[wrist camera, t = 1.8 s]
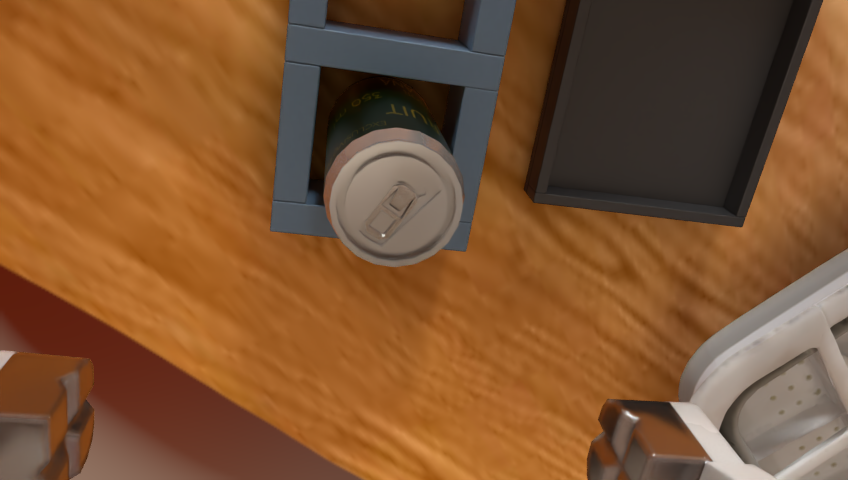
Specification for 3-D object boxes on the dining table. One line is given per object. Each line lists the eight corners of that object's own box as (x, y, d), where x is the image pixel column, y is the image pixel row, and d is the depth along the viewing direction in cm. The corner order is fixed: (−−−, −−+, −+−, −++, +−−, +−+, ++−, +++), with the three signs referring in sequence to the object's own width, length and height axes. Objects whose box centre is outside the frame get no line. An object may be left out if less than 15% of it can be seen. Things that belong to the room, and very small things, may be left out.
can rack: (310, -178, 31) (305, -193, 27) (522, -135, 33) (545, -144, 29) (276, 203, 38) (269, 231, 34) (454, 223, 39) (466, 252, 36)
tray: (591, -112, 33) (606, -115, 31) (820, -67, 35) (847, -67, 33) (523, 189, 39) (532, 203, 37) (723, 214, 41) (742, 227, 39)
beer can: (389, 194, 38) (409, 297, 27) (306, 136, 37) (293, 221, 26) (451, 116, 37) (498, 191, 26) (369, 52, 35) (382, 103, 24)
